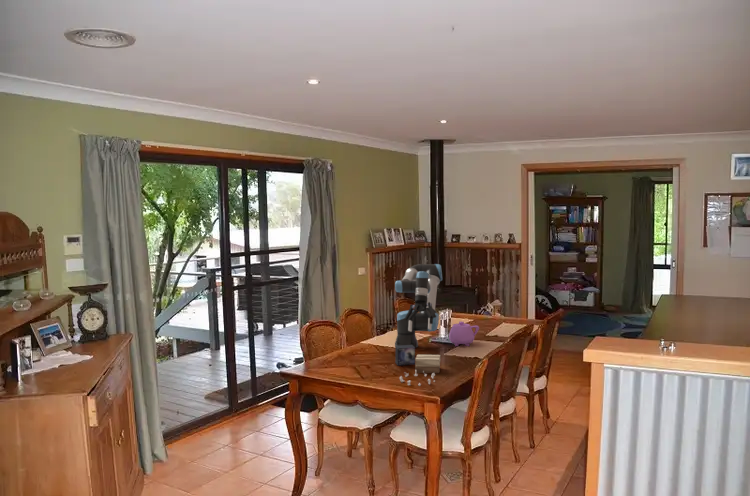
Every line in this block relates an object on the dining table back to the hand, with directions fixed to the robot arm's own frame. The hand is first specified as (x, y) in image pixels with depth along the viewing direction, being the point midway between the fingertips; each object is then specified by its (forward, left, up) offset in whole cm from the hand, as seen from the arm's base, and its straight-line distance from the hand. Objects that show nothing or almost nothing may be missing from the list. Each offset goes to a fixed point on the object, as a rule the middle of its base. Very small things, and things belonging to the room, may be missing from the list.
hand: (419, 330), depth 345 cm
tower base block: (+23, +6, -18) cm, 30 cm away
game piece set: (+42, +2, -18) cm, 46 cm away
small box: (+11, -8, -18) cm, 22 cm away
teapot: (-42, +25, -18) cm, 52 cm away
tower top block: (+22, +6, -14) cm, 27 cm away
